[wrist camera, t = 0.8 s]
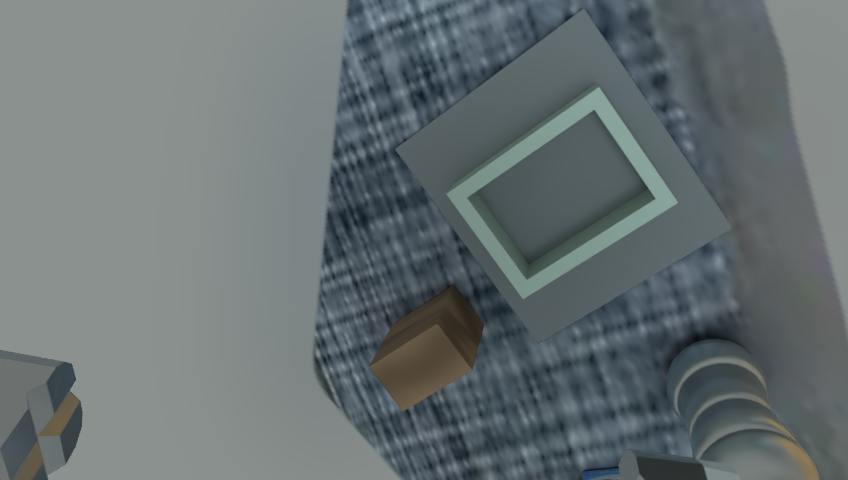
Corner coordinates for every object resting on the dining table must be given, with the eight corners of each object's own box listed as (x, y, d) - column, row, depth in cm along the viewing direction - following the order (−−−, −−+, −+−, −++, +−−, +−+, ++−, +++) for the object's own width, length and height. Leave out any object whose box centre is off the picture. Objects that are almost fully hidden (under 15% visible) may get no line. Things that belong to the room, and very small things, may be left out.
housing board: (728, 222, 51) (745, 242, 46) (538, 335, 56) (536, 364, 51) (583, 8, 49) (585, 6, 44) (399, 146, 54) (383, 157, 49)
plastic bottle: (774, 375, 54) (891, 563, 35) (697, 425, 56) (768, 628, 37) (718, 312, 53) (805, 468, 34) (643, 365, 55) (685, 539, 36)
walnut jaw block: (484, 324, 57) (472, 370, 49) (423, 362, 58) (402, 411, 51) (454, 284, 56) (437, 323, 49) (394, 323, 58) (368, 367, 50)
